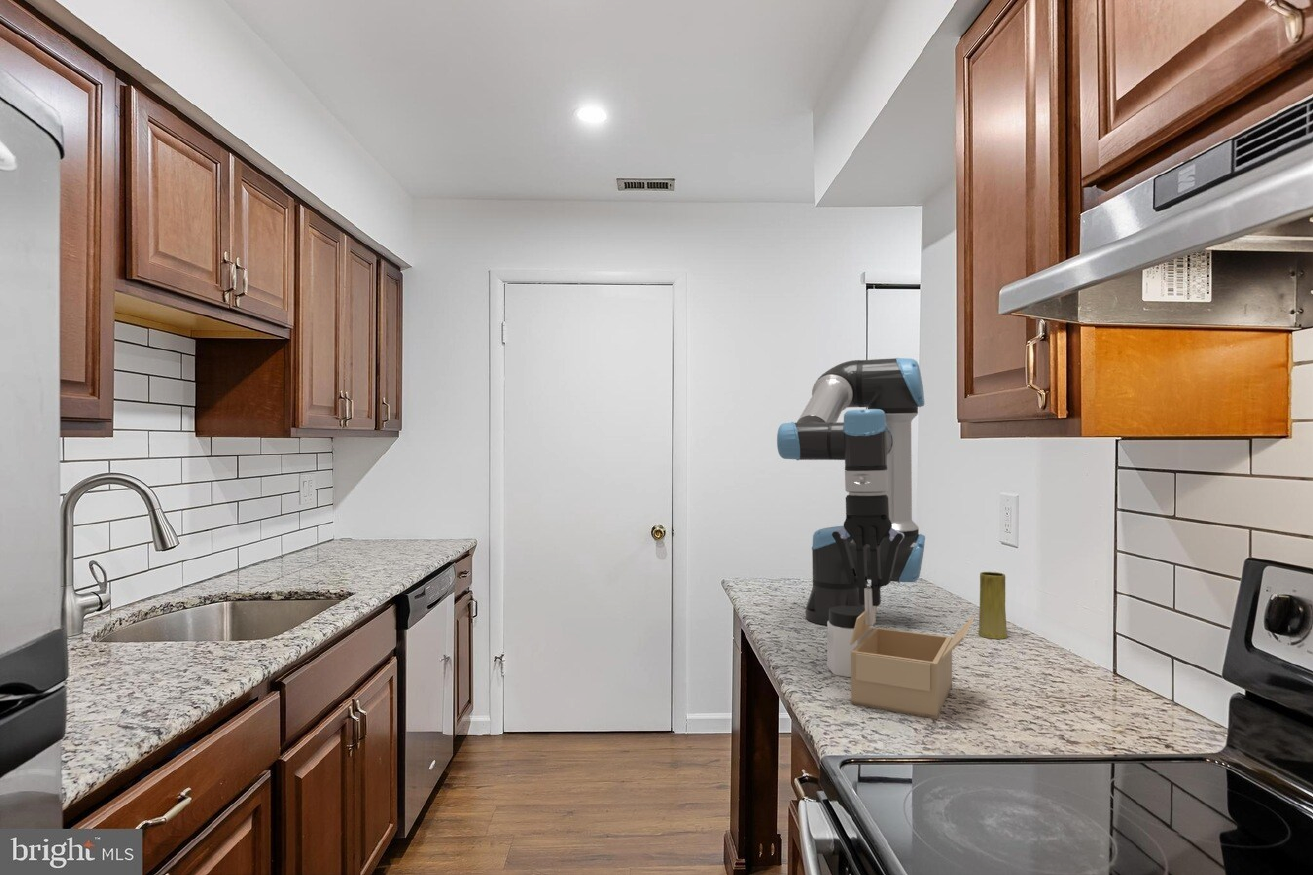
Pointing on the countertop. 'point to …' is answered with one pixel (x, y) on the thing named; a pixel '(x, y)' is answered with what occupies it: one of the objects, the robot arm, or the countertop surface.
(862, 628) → the flap
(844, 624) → the jar
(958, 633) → the flap
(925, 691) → the carton
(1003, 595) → the vase
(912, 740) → the countertop surface
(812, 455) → the robot arm
